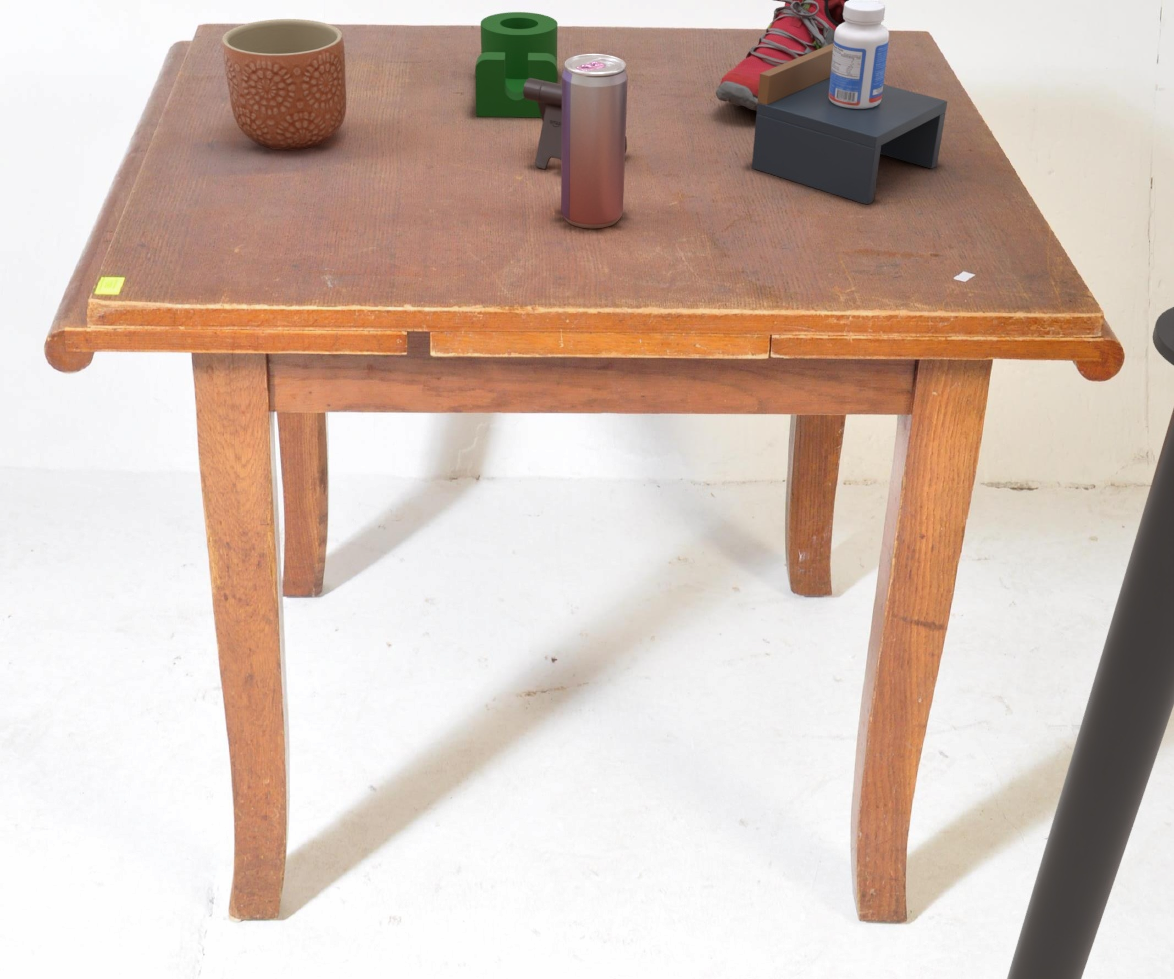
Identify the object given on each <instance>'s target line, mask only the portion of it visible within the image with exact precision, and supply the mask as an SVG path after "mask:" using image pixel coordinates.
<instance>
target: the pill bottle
mask: <svg viewBox="0 0 1174 979" xmlns="http://www.w3.org/2000/svg"><path fill="white" fill-rule="evenodd" d="M885 10H886V4H884V3H883V2H881V1H878V0H849V1H846V2H845V4H844V11H843V18H844V20H845V22H844V23H842V24H840V25H839V26H838V27H837V28H836V30H835V34H834V43H833V54H832V64H831V75H830V85H829V100H830V101H831V102H832V103H833V104H835V105H837V106H840V107H844V108H851V109H868V108H872V107H875V106H877V105H878V104H879V103H880V102H881V99H882V92H883V84H884V85H885V77H886V76H885V74H886V68H887V59H888V50H889V41H890V31H889V29H888V28H887V27H886V26H885V25H883V24H882V23H883V22H884V20H885V12H886V11H885Z"/></svg>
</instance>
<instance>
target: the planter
mask: <svg viewBox="0 0 1174 979" xmlns="http://www.w3.org/2000/svg"><path fill="white" fill-rule="evenodd" d="M221 37H222V38H221V51H222V58H223V64H224V70H225V76H226V82H227V88H228V95H229V100H230V106H231V110H232V115H233V117H234V120H235V122H236V124H237V126H238V128H239V130H240V131H241V132H242V133H243V134H244V135H245V136H246V137H248V138H249V139H250V140H252V141H253V142H255V143H256V144H258V145H261V146H263V147H266V148H269V149H274V150H284V151H285V150H286V151H292V150H303V149H308V148H309V149H310V148H313V147H316V146H319V145H321V144H323V143H325V142H326V141H328V140H329V139H331V138H332V137H333V136H334V135H335V134H336V133H337V132H338V131H339V130H340V128H341V127H342V125H343V123H344V121H345V117H346V113H347V112H346V111H347V87H346V86H347V85H346V84H347V83H346V54H345V52H346V51H345V40H344V36H343V33H342V31H341V30H340V29H339V28H337V27H336V26H334V25H332V24H330V23H326V22H322V21H317V20H310V19H301V18H279V19H278V18H277V19H266V20H260V21H259V20H258V21H253V22H247V23H246V24H245V23H244V24H241V25H239V26H236V27H233V28H231V29H230V30H227V32H225V33H224V34H223V36H221Z"/></svg>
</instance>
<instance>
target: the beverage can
mask: <svg viewBox="0 0 1174 979" xmlns="http://www.w3.org/2000/svg"><path fill="white" fill-rule="evenodd" d="M563 64H564V65H563V67H564V68H563V71H562V74H561V85H562V145H561V161H560V162H561V164H560V170H561V171H560V212H561V215H562V216H563V218H564V220H565V222H567V223H568V224H569V225H572V226H575V227H578V228H583V229H592V230H593V229H604V228H607V227H611V226H613V225H615V224H616V223H618V221H619V220H620V219H621V217H622V216H623V214H624V193H625V166H626V165H625V163H626V153H625V139H626V138H627V110H628V109H627V106H628V103H627V102H628V83H629V82H628V80H629V79H628V78H629V76H628V72H627V69H626V68H627V63H626V62H625V60H624V59H622V58H620V57H617V56H615V55H611V54H610V55H609V54H605V53H603V54H602V53H583V54H577V55H573V56H571V57H569V58H567V59H565V61H564V63H563Z"/></svg>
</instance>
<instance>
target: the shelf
mask: <svg viewBox="0 0 1174 979" xmlns="http://www.w3.org/2000/svg"><path fill="white" fill-rule="evenodd" d="M832 54H833V44H830V45H828V46H826V47H823V48H821V49H818V50H816V51H813V52H811V53H809V54H806V55H804V56H801V57H799V58H796V59H794V60H792V61H789V62H787V63H784V64H782V65H779V66H777V67H775V68H772V69H770V70H767V71H765V72H762V73H760V79H759V90H758V101H757V102H758V103H757V111H756V116H755V126H754V136H753V147H752V148H753V149H752V160H751V169H754V170H757V171H760V172H764V173H766V174H769V175H772V176H776V177H779V178H781V179H786V180H788V181H792V182H794V183H798V184H801V185H804V186H807V187H811V188H814V189H817V190H820V191H822V192H826V193H830V194H833V195H835V196H839V197H842V198H845V199H848V200H852V201H854V202H857V203H861V204H864V205H869V204H871V203H873V202H874V200H875V193H876V185H877V178H878V172H879V171H878V170H879V163H880V156H881V155H883V156H886V157H890V158H893V159H896V160H900V161H904V162H907V163H911V164H913V165H918V166H920V167H924V168H928V169H931V170H932V169H934V168H936V167H937V166H938V161H939V155H940V150H941V143H942V136H943V133H944V132H943V131H944V127H945V126H944V124H945V120H946V112H947V107H948V101H947V100H946V99H945V100H944V99H940V98H937V97H933V96H929V95H926V94H922V93H919V92H914V91H911V90H908V89H907V90H906V89H903V88H900V87H895V86H891V85H888V84H885V83H884V84H883V92H882V99H881V102H880V103H879V104H878V105H877V106H875V107H872V108H868V109H851V108H844V107H840V106H837V105H835V104H833V103H832V102H831V101H830V100H829V85H830V75H831V64H832Z"/></svg>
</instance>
